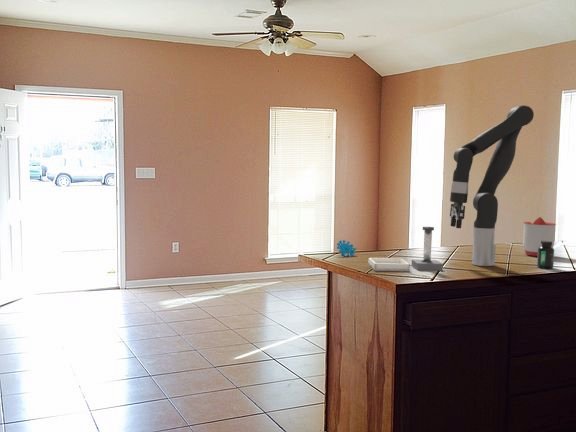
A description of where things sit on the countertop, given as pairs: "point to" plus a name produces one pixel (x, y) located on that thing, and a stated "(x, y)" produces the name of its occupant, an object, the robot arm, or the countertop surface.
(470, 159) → the robot arm
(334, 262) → the countertop surface
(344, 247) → the gear
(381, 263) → the tray
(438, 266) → the block
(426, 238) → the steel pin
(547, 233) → the citrus juicer
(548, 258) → the supplement bottle
